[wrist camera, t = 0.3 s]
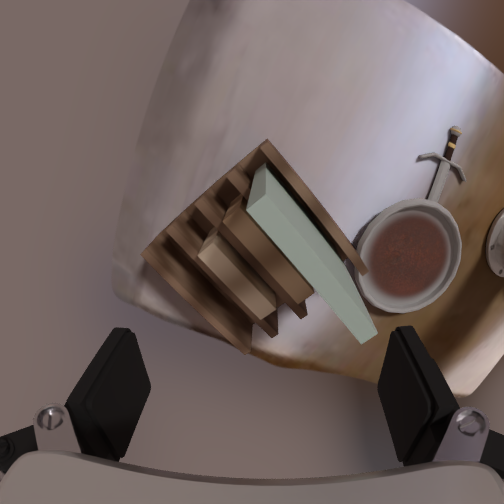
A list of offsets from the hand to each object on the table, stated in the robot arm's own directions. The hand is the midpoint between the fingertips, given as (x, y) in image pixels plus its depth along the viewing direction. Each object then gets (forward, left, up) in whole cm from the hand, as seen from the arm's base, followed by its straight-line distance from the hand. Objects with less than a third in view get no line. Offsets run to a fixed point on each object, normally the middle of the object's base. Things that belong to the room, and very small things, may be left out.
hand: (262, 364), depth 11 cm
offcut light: (-4, +7, -29) cm, 30 cm away
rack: (-4, +5, -30) cm, 31 cm away
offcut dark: (-4, +3, -29) cm, 30 cm away
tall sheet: (-4, -2, -29) cm, 29 cm away
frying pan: (-16, -14, -31) cm, 38 cm away
